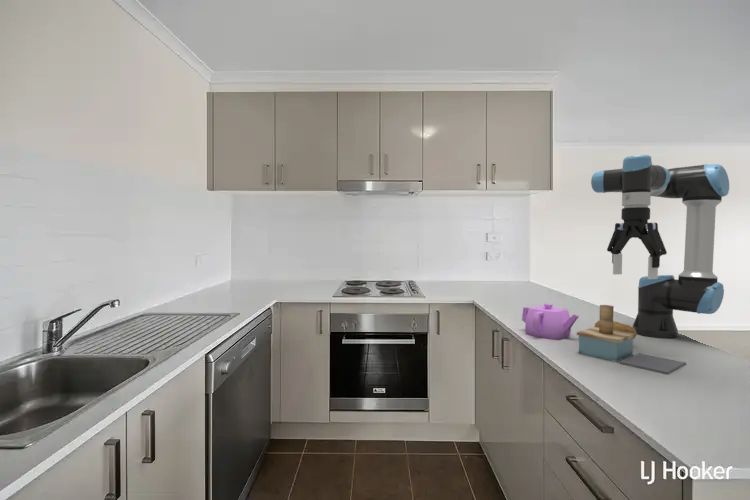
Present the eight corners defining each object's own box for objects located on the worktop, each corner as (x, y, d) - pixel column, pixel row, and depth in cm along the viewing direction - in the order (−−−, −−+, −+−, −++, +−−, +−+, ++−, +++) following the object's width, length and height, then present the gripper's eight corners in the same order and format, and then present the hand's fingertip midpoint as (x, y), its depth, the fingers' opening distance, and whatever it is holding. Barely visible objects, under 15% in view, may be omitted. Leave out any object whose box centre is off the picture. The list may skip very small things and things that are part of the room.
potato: (627, 350, 150) (628, 326, 150) (588, 341, 162) (589, 319, 162) (642, 346, 155) (643, 323, 155) (603, 337, 167) (604, 317, 167)
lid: (595, 329, 154) (595, 301, 154) (635, 336, 144) (636, 306, 144) (576, 335, 146) (577, 305, 146) (617, 343, 136) (618, 310, 136)
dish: (595, 347, 154) (596, 330, 154) (632, 354, 144) (633, 336, 144) (578, 353, 146) (579, 335, 146) (616, 361, 137) (617, 342, 137)
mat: (639, 354, 144) (639, 353, 144) (686, 364, 134) (686, 362, 134) (619, 363, 135) (619, 361, 135) (667, 374, 125) (667, 372, 125)
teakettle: (519, 329, 181) (520, 300, 180) (561, 330, 180) (562, 300, 180) (533, 340, 164) (533, 307, 163) (579, 340, 163) (580, 307, 163)
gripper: (596, 208, 145) (594, 272, 146) (660, 204, 121) (658, 281, 122) (615, 209, 147) (614, 272, 148) (682, 204, 122) (680, 280, 123)
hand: (634, 276), depth 135 cm, fingers open, 13 cm apart
